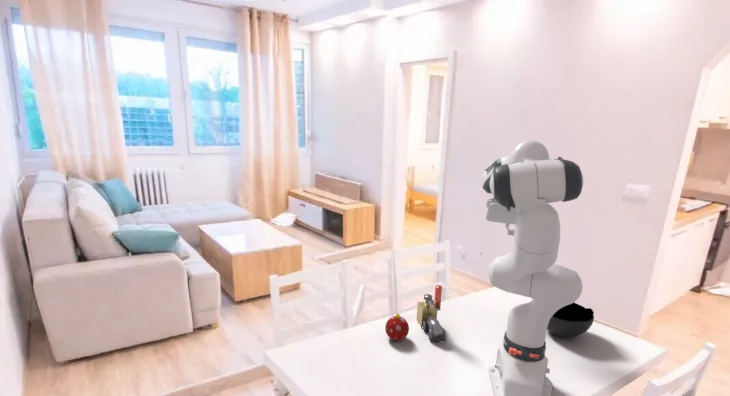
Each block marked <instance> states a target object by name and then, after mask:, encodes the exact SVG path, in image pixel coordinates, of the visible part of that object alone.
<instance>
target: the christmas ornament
mask: <svg viewBox="0 0 730 396" xmlns="http://www.w3.org/2000/svg"><path fill="white" fill-rule="evenodd" d="M384 329H385V332H386V334H387V335H386V336H387V337H388V338H389V339H391V340H393V341H397V342H399V341H403V340H404V339H406V337H407V336H408V335H409V332H410V326H409V323H408V321H407V320H406V319H405V318H404V317H403V316H400V314H399V313H396V315H394V316H391V317H390V318H389V319H387V321H386V323H385V328H384Z"/></svg>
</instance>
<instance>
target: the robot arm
mask: <svg viewBox="0 0 730 396" xmlns="http://www.w3.org/2000/svg"><path fill="white" fill-rule="evenodd" d="M481 187H482V189H483V190H484V191H485V192H486V193H487V194H492V196H493V197H491V198H489V199H488V200H487V201H486V208H487V211H486V216H485V219H486V221H487V222H493V223H502V224H505V229H506V231H507V236H514V237H513V247H512V250H511V251H510V252H508V253H506V254H503V255H499V256H496V257H495V258H494V259H492V260H491V262H490V264H489V266H488V269H487V277H488V280H489V282H490V284H491V285H492V286H493V287H494V288H497V289H498V290H500V291H501V290H502V291H503V292H506V293H510V294H513V295H517V296H522V297H527V298H529V297H530V298H532V299H533V300H532V301H530V302H525V303H524V302H523V303H519V304H517V305H514V306H513V307H512V308H511V309H510V310H509V311H508V317H507V323H506V330H505V332H504V335H503V344H502V345H501V346H499V347H498V348H497V349H496V357H495V364H494V365H491V366H489V367H488V371H487V372H488V376H489V379H490V383H491V386H492V391H493V395H494V396H552V393H553V382H552V381H551V380H550V379H549V377H548V376H547V374H549V373H550V372H551V371H550V368H548V364H549V358H547V356H546V352H547V350H546V349H547V345H546V344H547V342H546V335H547V332H548V330H547V327H548V324H549V321H550V319H551V317H552V316H553V315H554V313H556V312H557V311H558V310H559V309H561V308H562V307H564V306H567V305H570V304H572V303H576V301H578V300H579V298H580V297H581V295H582V293H583V292H582V291H583V281H582V278H581V276H580V274H578V272H577V271H575V270H573V269H570V268H568V267H565V266H562V265H558V264H555V263H556V262H557V259H558V254H559V246H560V240H561V223H560V217H559V213H558V212H557V209H555V207H553V206H552V205H551V203H558V202H563V203H566V202H570V201H574V200H576V199H578V198H579V197H580V195H581V194H582V190H583V187H584V175H583V173H582V170H581V168H580V166H579V165H578V164H577V163H575V162H574V161H572V160H568V159H564V158H563V157H562V156H558V157H557V158H553V159H552V158H550V154H549V151H548V148H547V147H546V146H545V145H544V144H543V143H541V142H540V141H538V140H532V139H531V140H524V141H522V142H519V144H517V145H516V146H515V147H514V148H513V149H512V150H511V152H510V153H509V155H506V156H504V157H501V158H498V159H496V160H494V162H493V163H491V165H489V166H488V167H487V168H486V169H484V171H483V174H482V175H481ZM510 225H514V226H515V227H514V229H510Z"/></svg>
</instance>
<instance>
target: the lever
mask: <svg viewBox="0 0 730 396" xmlns="http://www.w3.org/2000/svg"><path fill="white" fill-rule="evenodd" d="M442 293H443V286H442V285H439V284H437V285H435V288H434V298H433V295H432V294H429V293H426V294H423V302H427V303H429V304H430V305H431V306H432V307H433V308H434V309H435V310H436V311H437V312H439V311H441V303H442Z"/></svg>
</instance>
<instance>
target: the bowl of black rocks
mask: <svg viewBox="0 0 730 396" xmlns="http://www.w3.org/2000/svg"><path fill="white" fill-rule="evenodd" d="M594 313H595V312H594V310H593V309H592V308H591V307H587V308H586V307H584V306H582V305H581V304H579V303H576V302H574V303H572V304H570V305H567V306H564V307H562V308H561V309H559V310H558V311H557V312H556V313H554V315H553V316H552V317H551V319H550V321H549V324H548V327H547V331H549V332H550V333H552V334H554V335H556V336H558V337H562V338H576V337H578V336H579V337H580V336H581V335H584V334H585V333H586V332H587V331H588V330H589V329H590V328H591V326H593V324H594V320H595V316H594Z"/></svg>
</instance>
